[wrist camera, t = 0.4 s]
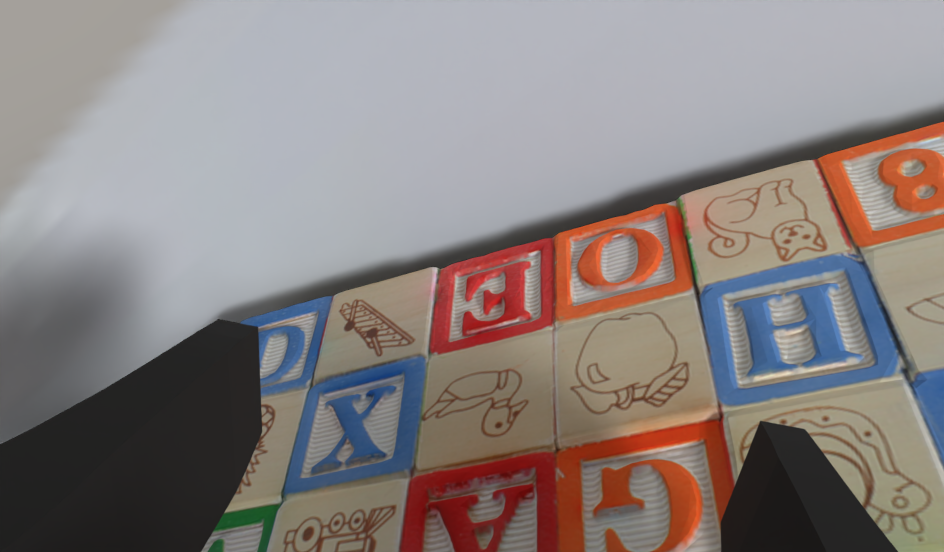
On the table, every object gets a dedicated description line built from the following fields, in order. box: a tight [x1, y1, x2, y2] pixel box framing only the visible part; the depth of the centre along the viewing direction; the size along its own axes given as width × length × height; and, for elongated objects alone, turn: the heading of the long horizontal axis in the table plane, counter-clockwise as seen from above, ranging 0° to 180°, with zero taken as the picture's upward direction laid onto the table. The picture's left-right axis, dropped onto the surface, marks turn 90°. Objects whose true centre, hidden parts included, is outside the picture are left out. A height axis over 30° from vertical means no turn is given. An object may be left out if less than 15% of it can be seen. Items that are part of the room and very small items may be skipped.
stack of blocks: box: [201, 122, 944, 552], centre depth 16 cm, size 21×6×12 cm, turn 112°
